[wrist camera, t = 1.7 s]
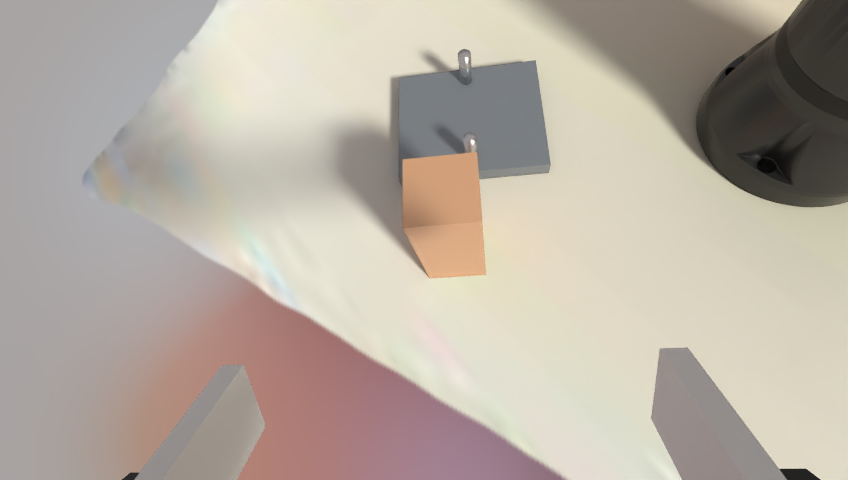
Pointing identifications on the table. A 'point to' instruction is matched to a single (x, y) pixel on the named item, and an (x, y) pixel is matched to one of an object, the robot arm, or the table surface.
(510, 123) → the pin tray
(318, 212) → the table surface
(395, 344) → the table surface
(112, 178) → the table surface
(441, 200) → the case
